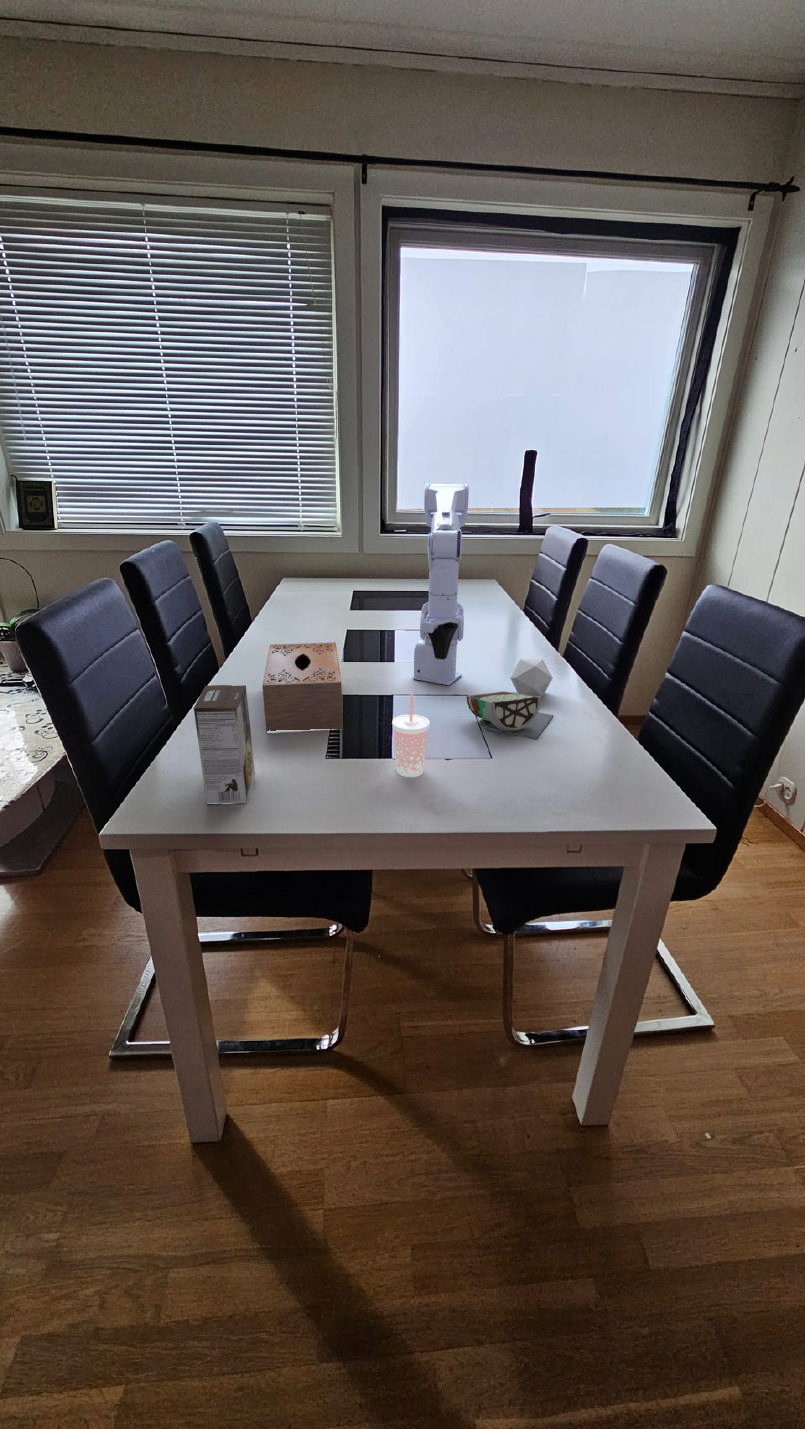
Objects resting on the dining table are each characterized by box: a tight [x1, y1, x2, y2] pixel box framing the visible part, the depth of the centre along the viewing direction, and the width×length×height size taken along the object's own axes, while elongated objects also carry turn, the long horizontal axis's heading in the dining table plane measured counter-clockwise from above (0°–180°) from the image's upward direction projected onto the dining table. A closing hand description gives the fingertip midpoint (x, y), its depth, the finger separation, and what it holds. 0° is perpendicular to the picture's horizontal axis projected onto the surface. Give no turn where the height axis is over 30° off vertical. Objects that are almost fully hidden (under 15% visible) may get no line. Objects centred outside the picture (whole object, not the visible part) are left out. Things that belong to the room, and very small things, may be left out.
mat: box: [485, 711, 554, 740], centre depth 122 cm, size 10×12×1 cm
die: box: [510, 658, 554, 698], centre depth 135 cm, size 8×9×10 cm
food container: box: [466, 691, 542, 731], centre depth 120 cm, size 12×6×10 cm
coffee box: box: [193, 684, 256, 804], centre depth 94 cm, size 9×6×16 cm
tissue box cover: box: [261, 641, 344, 731], centre depth 128 cm, size 26×14×10 cm, turn 8°
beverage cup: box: [391, 692, 431, 778], centre depth 101 cm, size 6×6×14 cm
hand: (440, 658), depth 128 cm, fingers closed
